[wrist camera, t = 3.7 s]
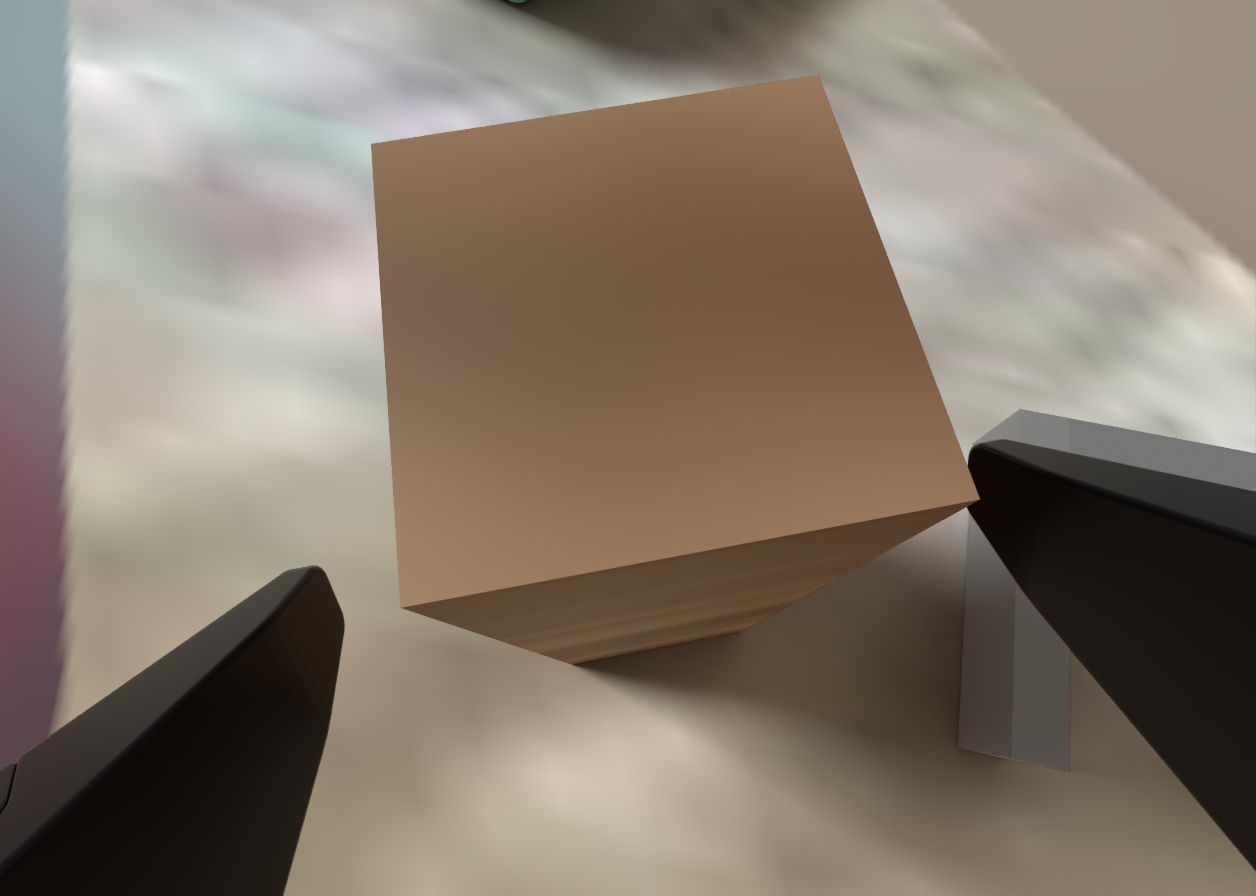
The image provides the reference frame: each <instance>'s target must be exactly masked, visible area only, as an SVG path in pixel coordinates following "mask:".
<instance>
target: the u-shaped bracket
mask: <svg viewBox="0 0 1256 896" xmlns="http://www.w3.org/2000/svg"><path fill="white" fill-rule="evenodd" d="M998 439H1008V440H1012V441H1017V442H1022V443H1027V444H1031V445H1036V446H1041V447H1046V448H1051V449H1055V450H1060V451H1065V452H1070V453H1075V454H1079V455H1084V456H1089V457H1094V458H1099V459H1103V460H1108V461H1113V462H1118V463H1123V464H1127V465H1132V466H1137V467H1142V468H1147V469H1151V470H1156V471H1161V472H1166V473H1171V474H1175V475H1180V476H1185V477H1190V478H1194V479H1199V480H1204V481H1209V482H1214V483H1218V484H1223V485H1228V486H1233V487H1238V488H1242V489H1247V490H1252V491H1256V453H1250V452H1245V451H1240V450H1235V449H1229V448H1224V447H1219V446H1213V445H1208V444H1203V443H1197V442H1192V441H1187V440H1181V439H1176V438H1171V437H1166V436H1160V435H1155V434H1150V433H1144V432H1139V431H1134V430H1128V429H1123V428H1118V427H1113V426H1107V425H1102V424H1097V423H1091V422H1086V421H1081V420H1075V419H1070V418H1065V417H1059V416H1054V415H1049V414H1044V413H1038V412H1033V411H1028V410H1022V409H1020V410H1018V411H1017V412H1015V413H1014V414H1013V415H1011V416H1010V417H1009V418H1007V419H1006V420H1004V421H1003V422H1002V423H1000V424H999V425H998V426H996V427H995V428H993V429H992V430H991V431H989V432H988V433H987V434H985V435H984V436H982V437H981V438H980V439H978V440H977V441H976V442H974V443H973V446H974V445H975V444H978V443H982V442H987V441H992V440H998ZM958 748H961V749H966V750H970V751H974V752H978V753H983V754H987V755H991V756H995V757H1000V758H1004V759H1008V760H1013V761H1018V762H1023V763H1028V764H1033V765H1038V766H1043V767H1048V768H1053V769H1058V770H1064V771H1069V772H1070V649H1069V648H1068V647H1067V645H1066V644H1065V643H1064V642H1063V641H1062V639H1061V638H1060V637H1059V636H1058V635H1057V633H1056V632H1055V631H1054V630H1053V629H1052V628H1051V626H1050V625H1049V624H1048V623H1047V622H1046V620H1045V619H1044V618H1043V617H1042V616H1041V614H1040V613H1039V612H1038V611H1037V610H1036V608H1035V607H1034V606H1033V604H1032V603H1031V602H1030V601H1029V599H1028V598H1027V597H1026V596H1025V594H1024V593H1023V591H1022V590H1021V589H1020V587H1019V586H1018V584H1017V583H1016V582H1015V580H1014V579H1013V577H1012V576H1011V574H1010V573H1009V571H1008V570H1007V568H1006V567H1005V565H1004V564H1003V562H1002V561H1001V559H1000V558H999V556H998V555H997V553H996V552H995V550H994V549H993V547H992V546H991V544H990V543H989V541H988V540H987V538H986V537H985V535H984V534H983V532H982V531H981V530H980V528H979V527H978V525H977V524H976V522H975V521H974V519H973V518H972V516H971V515H970V513H969V533H968V553H967V573H966V593H965V613H964V633H963V653H962V672H961V692H960V712H959V732H958Z"/></svg>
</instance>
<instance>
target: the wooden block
mask: <svg viewBox="0 0 1256 896" xmlns="http://www.w3.org/2000/svg"><path fill="white" fill-rule="evenodd" d="M371 150H372V165H373V181H374V197H375V212H376V228H377V244H378V259H379V275H380V291H381V306H382V322H383V338H384V353H385V369H386V385H387V400H388V416H389V432H390V447H391V463H392V478H393V494H394V510H395V525H396V541H397V557H398V572H399V588H400V604H401V608H403V609H406V610H409V611H412V612H415V613H418V614H421V615H424V616H427V617H430V618H433V619H436V620H439V621H442V622H445V623H448V624H451V625H454V626H457V627H460V628H463V629H466V630H469V631H472V632H475V633H478V634H481V635H484V636H487V637H490V638H493V639H496V640H499V641H502V642H505V643H508V644H511V645H514V646H517V647H520V648H523V649H526V650H529V651H532V652H535V653H538V654H541V655H544V656H547V657H551V658H554V659H557V660H560V661H563V662H566V663H569V664H576V663H581V662H586V661H592V660H597V659H602V658H607V657H612V656H618V655H623V654H628V653H633V652H638V651H643V650H649V649H654V648H659V647H664V646H669V645H674V644H680V643H685V642H690V641H695V640H700V639H705V638H711V637H716V636H721V635H726V634H731V633H737V632H741V631H743V630H744V629H746V628H748V627H750V626H752V625H753V624H755V623H757V622H759V621H761V620H763V619H764V618H766V617H768V616H770V615H772V614H773V613H775V612H777V611H779V610H781V609H782V608H784V607H786V606H788V605H790V604H792V603H793V602H795V601H797V600H799V599H801V598H802V597H804V596H806V595H808V594H810V593H811V592H813V591H815V590H817V589H819V588H821V587H822V586H824V585H826V584H828V583H830V582H831V581H833V580H835V579H837V578H839V577H840V576H842V575H844V574H846V573H848V572H849V571H851V570H853V569H855V568H857V567H859V566H860V565H862V564H864V563H866V562H868V561H869V560H871V559H873V558H875V557H877V556H878V555H880V554H882V553H884V552H886V551H888V550H889V549H891V548H893V547H895V546H897V545H898V544H900V543H902V542H904V541H906V540H907V539H909V538H911V537H913V536H915V535H917V534H918V533H920V532H922V531H924V530H926V529H927V528H929V527H931V526H933V525H935V524H936V523H938V522H940V521H942V520H944V519H946V518H947V517H949V516H951V515H953V514H955V513H956V512H958V511H960V510H962V509H964V508H965V507H967V506H969V505H971V504H973V503H975V502H976V501H978V500H980V498H979V495H978V493H977V490H976V487H975V485H974V482H973V479H972V477H971V474H970V472H969V469H968V466H967V464H966V461H965V458H964V456H963V453H962V451H961V448H960V445H959V443H958V440H957V437H956V435H955V432H954V430H953V427H952V424H951V422H950V419H949V416H948V414H947V411H946V409H945V406H944V403H943V401H942V398H941V395H940V393H939V390H938V388H937V385H936V382H935V380H934V377H933V374H932V372H931V369H930V367H929V364H928V361H927V359H926V356H925V353H924V351H923V348H922V346H921V343H920V340H919V338H918V335H917V332H916V330H915V327H914V324H913V322H912V319H911V317H910V314H909V311H908V309H907V306H906V303H905V301H904V298H903V296H902V293H901V290H900V288H899V285H898V282H897V280H896V277H895V275H894V272H893V269H892V267H891V264H890V261H889V259H888V256H887V254H886V251H885V248H884V246H883V243H882V240H881V238H880V235H879V233H878V230H877V227H876V225H875V222H874V219H873V217H872V214H871V212H870V209H869V206H868V204H867V201H866V198H865V196H864V193H863V190H862V188H861V185H860V183H859V180H858V177H857V175H856V172H855V169H854V167H853V164H852V162H851V159H850V156H849V154H848V151H847V148H846V146H845V143H844V141H843V138H842V135H841V133H840V130H839V127H838V125H837V122H836V120H835V117H834V114H833V112H832V109H831V106H830V104H829V101H828V99H827V96H826V93H825V91H824V88H823V85H822V83H821V80H820V78H819V75H815V76H809V77H802V78H796V79H789V80H783V81H776V82H770V83H763V84H757V85H750V86H744V87H737V88H731V89H725V90H718V91H712V92H705V93H699V94H692V95H686V96H679V97H673V98H666V99H660V100H653V101H647V102H640V103H634V104H627V105H621V106H614V107H608V108H601V109H595V110H588V111H582V112H575V113H569V114H563V115H556V116H550V117H543V118H537V119H530V120H524V121H517V122H511V123H504V124H498V125H491V126H485V127H478V128H472V129H465V130H459V131H452V132H446V133H439V134H433V135H426V136H420V137H413V138H407V139H400V140H394V141H388V142H381V143H375V144H371Z"/></svg>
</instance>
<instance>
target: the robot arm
mask: <svg viewBox="0 0 1256 896" xmlns="http://www.w3.org/2000/svg"><path fill="white" fill-rule="evenodd" d="M968 469H969V472H970V474H971V477H972V479H973V482H974V485H975V487H976V490H977V493H978V495H979V498H980V500H978V501H976V502H975V503H973V504H971V505H969V506H967V509H968V511H969V513H970V515H971V516H972V518H973V519H974V521H975V522H976V524H977V525H978V527H979V528H980V530H981V531H982V532H983V534H984V535H985V537H986V538H987V540H988V541H989V543H990V544H991V546H992V547H993V549H994V550H995V552H996V553H997V555H998V556H999V558H1000V559H1001V561H1002V562H1003V564H1004V565H1005V567H1006V568H1007V570H1008V571H1009V573H1010V574H1011V576H1012V577H1013V579H1014V580H1015V582H1016V583H1017V584H1018V586H1019V587H1020V589H1021V590H1022V591H1023V593H1024V594H1025V596H1026V597H1027V598H1028V599H1029V601H1030V602H1031V603H1032V604H1033V606H1034V607H1035V608H1036V610H1037V611H1038V612H1039V613H1040V614H1041V616H1042V617H1043V618H1044V619H1045V620H1046V622H1047V623H1048V624H1049V625H1050V626H1051V628H1052V629H1053V630H1054V631H1055V632H1056V633H1057V635H1058V636H1059V637H1060V638H1061V639H1062V641H1063V642H1064V643H1065V644H1066V645H1067V647H1068V648H1069V649H1070V650H1071V651H1072V653H1073V654H1074V655H1075V656H1076V657H1077V659H1078V660H1079V661H1080V662H1081V663H1082V664H1083V666H1084V667H1085V668H1086V669H1087V670H1088V672H1089V673H1090V674H1091V675H1092V676H1093V678H1094V679H1095V680H1096V681H1097V682H1098V684H1099V685H1100V686H1101V687H1102V688H1103V690H1104V691H1105V692H1106V693H1107V694H1108V695H1109V697H1110V698H1111V699H1112V700H1113V701H1114V703H1115V704H1116V705H1117V706H1118V707H1119V709H1120V710H1121V711H1122V712H1123V713H1124V715H1125V716H1126V717H1127V718H1128V719H1129V721H1130V722H1131V723H1132V724H1133V725H1134V727H1135V728H1136V729H1137V730H1138V731H1139V732H1140V734H1141V735H1142V736H1143V737H1144V738H1145V740H1146V741H1147V742H1148V743H1149V744H1150V746H1151V747H1152V748H1153V749H1154V750H1155V752H1156V753H1157V754H1158V755H1159V756H1160V758H1161V759H1162V760H1163V761H1164V762H1165V763H1166V765H1167V766H1168V767H1169V768H1170V769H1171V771H1172V772H1173V773H1174V774H1175V775H1176V777H1177V778H1178V779H1179V780H1180V781H1181V783H1182V784H1183V785H1184V786H1185V787H1186V789H1187V790H1188V791H1189V792H1190V793H1191V794H1192V796H1193V797H1194V798H1195V799H1196V800H1197V802H1198V803H1199V804H1200V805H1201V806H1202V808H1203V809H1204V810H1205V811H1206V812H1207V814H1208V815H1209V816H1210V817H1211V818H1212V820H1213V821H1214V822H1215V823H1216V824H1217V825H1218V827H1219V828H1220V829H1221V830H1222V831H1223V833H1224V834H1225V835H1226V836H1227V837H1228V839H1229V840H1230V841H1231V842H1232V843H1233V845H1234V846H1235V847H1236V848H1237V849H1238V851H1239V852H1240V853H1241V854H1242V855H1243V856H1244V858H1245V859H1246V860H1247V861H1248V862H1249V864H1250V865H1251V866H1252V867H1253V868H1254V870H1255V871H1256V491H1252V490H1247V489H1242V488H1238V487H1233V486H1228V485H1223V484H1218V483H1214V482H1209V481H1204V480H1199V479H1194V478H1190V477H1185V476H1180V475H1175V474H1171V473H1166V472H1161V471H1156V470H1151V469H1147V468H1142V467H1137V466H1132V465H1127V464H1123V463H1118V462H1113V461H1108V460H1103V459H1099V458H1094V457H1089V456H1084V455H1079V454H1075V453H1070V452H1065V451H1060V450H1055V449H1051V448H1046V447H1041V446H1036V445H1031V444H1027V443H1022V442H1017V441H1012V440H1008V439H998V440H992V441H987V442H982V443H978V444H975V445H974V446H973V447H972V448H971V450H970V452H969V458H968ZM344 629H345V624H344V617H343V613H342V610H341V608H340V606H339V603H338V601H337V599H336V596H335V594H334V591H333V589H332V587H331V584H330V582H329V580H328V577H327V575H326V573H325V572H324V570H323V569H322V568H321V567H319V566H307V567H302V568H296V569H291V570H288V571H286V572H284V573H282V574H281V575H279V576H278V577H277V578H275V579H274V580H272V581H271V582H269V583H268V584H267V585H265V586H264V587H262V588H261V589H259V590H258V591H257V592H255V593H254V594H252V595H251V596H249V597H248V598H247V599H245V600H244V601H242V602H241V603H239V604H238V605H236V606H235V607H234V608H232V609H231V610H229V611H228V612H226V613H225V614H224V615H222V616H221V617H219V618H218V619H216V620H215V621H214V622H212V623H211V624H209V625H208V626H206V627H205V628H204V629H202V630H201V631H199V632H198V633H196V634H195V635H194V636H192V637H191V638H189V639H188V640H186V641H185V642H184V643H182V644H181V645H179V646H178V647H176V648H175V649H173V650H172V651H171V652H169V653H168V654H166V655H165V656H163V657H162V658H161V659H159V660H158V661H156V662H155V663H153V664H152V665H151V666H149V667H148V668H146V669H145V670H143V671H142V672H141V673H139V674H138V675H136V676H135V677H133V678H132V679H131V680H129V681H128V682H126V683H125V684H123V685H122V686H120V687H119V688H118V689H116V690H115V691H113V692H112V693H110V694H109V695H108V696H106V697H105V698H103V699H102V700H100V701H99V702H98V703H96V704H95V705H93V706H92V707H90V708H89V709H88V710H86V711H85V712H83V713H82V714H80V715H79V716H78V717H76V718H75V719H73V720H72V721H70V722H69V723H68V724H66V725H65V726H63V727H62V728H60V729H59V730H57V731H56V732H55V733H53V734H52V735H50V736H49V737H47V738H46V739H45V740H43V741H42V742H40V743H39V744H37V745H36V746H35V747H33V748H32V749H30V750H29V751H27V752H26V753H25V754H23V755H22V756H20V758H19V759H18V762H17V763H11V764H9V765H7V766H6V767H4V768H3V769H1V770H0V896H283V895H284V891H285V888H286V884H287V880H288V877H289V873H290V870H291V866H292V862H293V859H294V855H295V852H296V848H297V844H298V841H299V837H300V834H301V830H302V826H303V823H304V819H305V816H306V812H307V808H308V805H309V801H310V798H311V794H312V790H313V787H314V783H315V780H316V776H317V772H318V769H319V765H320V762H321V758H322V754H323V751H324V747H325V743H326V739H327V735H328V730H329V725H330V719H331V714H332V707H333V701H334V694H335V688H336V682H337V675H338V669H339V662H340V656H341V650H342V643H343V637H344Z"/></svg>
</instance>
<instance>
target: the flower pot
mask: <svg viewBox="0 0 1256 896" xmlns="http://www.w3.org/2000/svg"><path fill="white" fill-rule="evenodd" d="M509 1H511V2H515V3H522V2H525V1H527V0H509Z"/></svg>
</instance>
